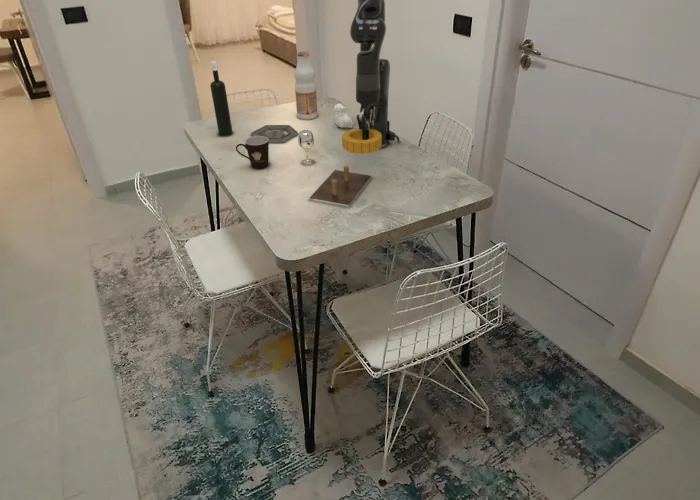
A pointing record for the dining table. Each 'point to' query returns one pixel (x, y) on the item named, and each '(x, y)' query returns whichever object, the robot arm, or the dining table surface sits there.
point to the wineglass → (306, 141)
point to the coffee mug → (257, 151)
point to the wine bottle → (220, 103)
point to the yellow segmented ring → (361, 141)
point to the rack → (341, 187)
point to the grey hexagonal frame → (276, 133)
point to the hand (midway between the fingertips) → (367, 137)
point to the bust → (342, 117)
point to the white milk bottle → (305, 87)
